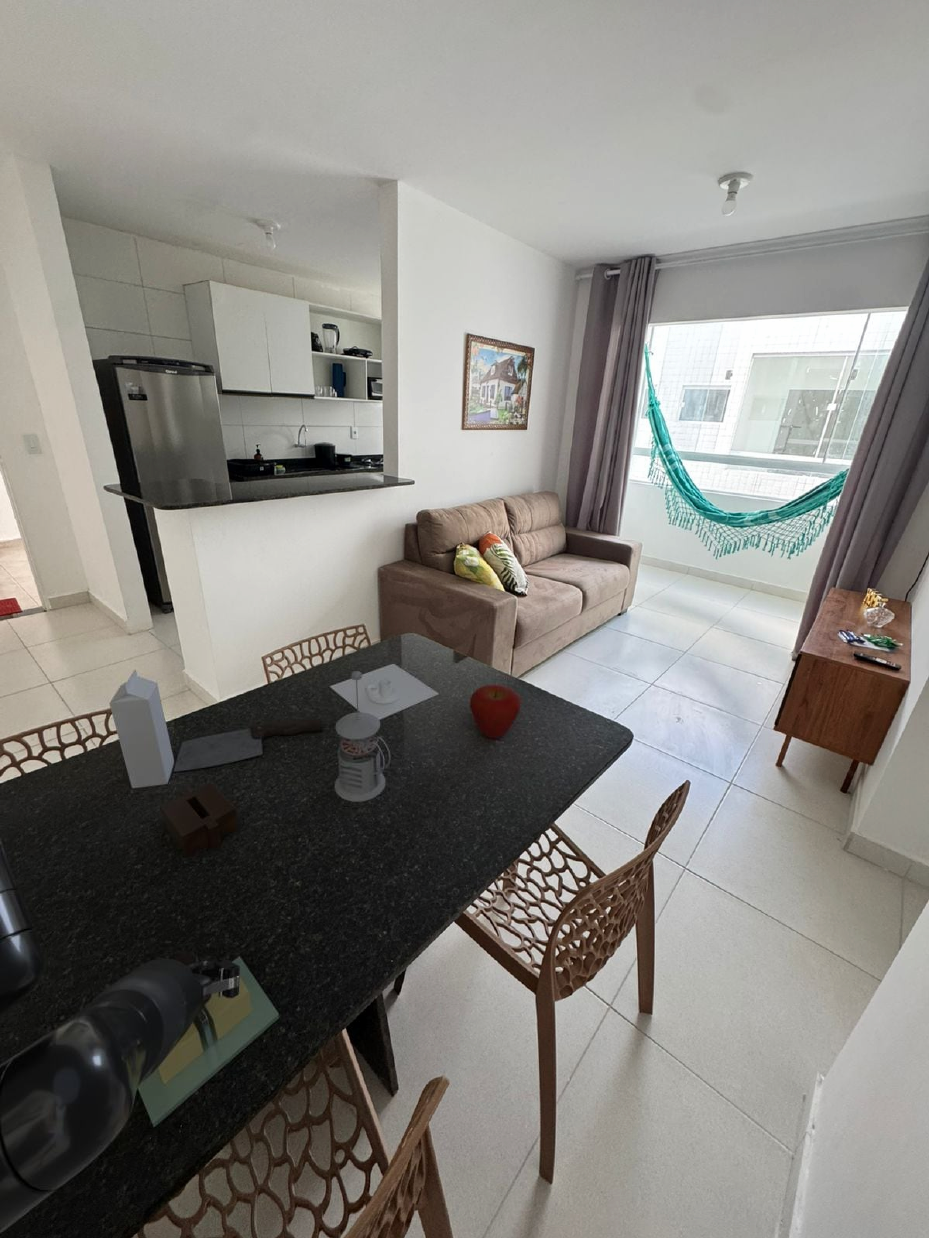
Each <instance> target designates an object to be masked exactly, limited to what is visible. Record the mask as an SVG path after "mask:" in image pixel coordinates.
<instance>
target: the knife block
mask: <svg viewBox="0 0 929 1238" xmlns="http://www.w3.org/2000/svg"><path fill="white" fill-rule="evenodd" d="M179 796H180V797H178V798H175V799H173V800H171V801H169V802H167V803H165V804H163V805H161V806H160V807H159V808H160V812H161V817H162V820H163V824H164V827H165V829H166V831H167V832H168V834H170V836H171V837H172V839H173V840H174V841H175V843H176V844H177V846H178V847H179V849H180V850H181V852H182V853H183V854H184V856H185V857H186V858H188V857H190V856H193V855H194V854H196V853H198V852H200V851H202V850H203V849H205V848H207V847H208V846H210V847H211V849H212V850H214V851H215V850H216V849H217V848H220V847H221V846H222V845H223V843H222V839H223V838H224V837H226V836H228V835H229V834H231V833H233V832H235V831H236V830H238V829H240V827H239V821H238V814H237V810H236V807H235V806H234V805H233V804H232V802H231V801H230V800H229V799H228V798H227V797H226V796H225V794H224V793H223V792H222V791H220V789H219V788H218V787H217V785H216V784H214V783H213V781H211V782H209V783H207V784H205V785H203V786H200V787H198V788H196V789H194V790H192V791H191V790H190V789H189V787H186V788H184V789H182V790H180V791H179Z"/></svg>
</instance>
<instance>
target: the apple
mask: <svg viewBox="0 0 929 1238" xmlns="http://www.w3.org/2000/svg"><path fill="white" fill-rule="evenodd" d="M521 703H522V701H521V698H520V696H519V694H518V693H517V692H515V691H514V690H513V689H511V688H510V687H507V686H504V685H500V684H485V685H482V686H480V687H479V688H478V689H476V690H475V691H474V692H473V693H472V694H471V697H470V701H469V708H470V711H471V713H472V716H473V719H474V721H475V723H476V724H475V725H476V726H477V728H478V732H480V733H481V734H482V735H484V736H485V737H486V738H489V739H498V738H500V737H502V736H505V734H506V733H508V732H509V729H511V727H512V725H513V724H514V722H515V721H516V719H517V717H518V716H519V714H520V711H521Z"/></svg>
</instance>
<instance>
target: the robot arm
mask: <svg viewBox="0 0 929 1238" xmlns="http://www.w3.org/2000/svg"><path fill="white" fill-rule="evenodd" d="M45 970H46V958H45V955H44V949H43V948H42V944H41V942H40V940H39V937H38V934H37V931H36V930H35V925H34V924H33V921H32V919H31V915H30V913H29V911H28V908H27V906H26V903H25V900H24V898H23V895H22V893H21V891H20V888H19V885H18V883H17V880H16V878H15V876H14V873H13V870H12V868H11V865H10V864H9V860H8V857H7V854H6V851H5V848H4V845H3V842H2V838H1V837H0V1020H1V1019H2V1018H3V1017H4V1016H5V1015H6V1014H7V1013H8V1012H9V1011H11V1010H12V1009H13V1008H14V1007H15V1006H16V1005H17V1004H19V1002H20V1001H22V1000H23V999H24V998H25V997H26V996H28V994H29V993H30V992H31V991H32V990H33V989H34V988H35V987H36V986H37V985H38V984H39V982H40V981H41V980H42V977H43V976H44V974H45ZM239 974H240V966H239V965H237V964H234V963H232V961H230V960H229V959H225V958H219V959H218V958H214V955H206V956H205V957H204V958H202V959H201V960H200V961H198V963H193V964H189V965H188V966H186V965H185V964H183V963H182V962H179V961H177V959H174V958H157V959H152V960H149V961H147V962H144V963H143V964H140V965H138V966H137V967H135V968H134V969H133V970H131V971H130V972H128V973H127V974H126V975H124V976H122V977H121V978H119V979H118V980H117V981H115V982H113V983H112V984H110V985H109V986H108V987H106V988H102V989H101V988H100V989H99V990H98V991H95V992H94V994H93V995H94V996H93V999H92V1000H91V1001H90V1002H89V1003H88V1004H87V1005H85V1006H84V1007H82V1008H81V1009H80V1010H78V1011H77V1012H75V1013H74V1014H73V1015H71V1016H70V1017H68V1018H67V1019H66V1020H65V1021H64V1022H62V1024H60V1025H58V1026H56V1027H55V1028H54V1029H52V1030H51V1031H49V1032H48V1033H45V1034H44V1035H43V1036H41V1037H40V1038H38V1039H37V1040H35V1041H34V1042H33V1043H31V1044H29V1045H27V1046H26V1047H25V1048H24V1049H22V1050H21V1051H19V1052H18V1053H16V1054H15V1055H13V1056H11V1057H10V1058H9V1059H7V1060H5V1062H4V1061H3V1063H1V1064H0V1235H1V1234H2V1233H3V1232H4V1231H6V1230H7V1229H8V1228H10V1227H11V1226H12V1225H14V1224H15V1223H16V1222H17V1221H19V1220H20V1219H21V1218H23V1217H24V1216H25V1215H27V1214H28V1213H29V1212H30V1211H32V1210H33V1209H34V1208H35V1207H36V1206H38V1205H39V1204H41V1203H42V1202H43V1201H44V1200H46V1199H47V1198H49V1196H51V1195H52V1194H53V1193H55V1192H56V1191H57V1190H58V1189H60V1188H61V1187H63V1186H64V1185H65V1184H66V1183H68V1182H69V1181H70V1180H72V1179H73V1178H74V1177H75V1176H77V1175H78V1174H79V1173H80V1172H82V1171H83V1170H84V1169H86V1168H87V1167H88V1166H89V1165H90V1164H91V1163H92V1162H93V1161H94V1160H95V1159H97V1158H98V1157H99V1156H100V1155H101V1154H102V1153H103V1152H104V1151H105V1150H106V1149H107V1148H108V1147H109V1146H110V1145H111V1144H112V1143H113V1141H114V1140H115V1139H117V1137H118V1136H119V1135H120V1133H121V1132H122V1131H123V1130H124V1128H125V1127H126V1126H127V1123H128V1122H129V1120H130V1118H131V1116H132V1113H133V1109H134V1104H135V1099H136V1095H137V1091H138V1086H139V1085H140V1084H141V1083H142V1082H143V1081H144V1080H146V1079H147V1078H148V1077H149V1076H150V1075H151V1074H152V1073H153V1072H154V1071H155V1070H156V1069H157V1068H158V1067H159V1066H160V1065H161V1063H162V1062H163V1061H164V1060H165V1058H166V1057H167V1056H168V1055H169V1053H170V1052H171V1051H172V1050H173V1048H174V1047H175V1046H176V1045H177V1043H178V1042H179V1041H180V1040H181V1038H182V1037H183V1036H184V1035H185V1033H186V1032H187V1031H188V1029H189V1027H190V1026H191V1024H192V1022H193V1020H194V1018H195V1016H196V1013H197V1011H198V1008H199V1007H200V1006H202V1005H204V1004H206V1003H207V1002H208V1001H209V1000H210V998H211V995H212V994H214V993H217V992H218V997H222V996H224V997H226V998H234V997H235V996H237V995H239Z"/></svg>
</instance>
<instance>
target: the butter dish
mask: <svg viewBox="0 0 929 1238" xmlns="http://www.w3.org/2000/svg"><path fill="white" fill-rule="evenodd" d="M231 962H232V963H234V964H237V965H239V966H240V974H239V995H237V996H235V997H234V998H226V997H224V996H222V997H218V992H217V993H214V994H212V995H211V998H210V1000H209V1001H208V1002H207V1003H206V1004H205V1006H204V1007H203V1011H204V1013H205V1015H206V1016H207V1018H208V1022H209V1026H210V1030H211V1034H212V1038H213V1042H214V1045H213V1046H211V1047H210V1048H208V1046H207V1044H206V1042H205V1040H204V1039H203V1037H202V1035H201V1033H200V1031H199V1029H198V1028H197V1026H196V1024H195V1022H194V1020H193V1022H192V1024H191V1026H190V1027H189V1029H188V1031H187V1032H186V1033H185V1035H184V1036H183V1037H182V1038H181V1040H180V1041H179V1042H178V1043H177V1045H176V1046H175V1047H174V1048H173V1050H172V1051H171V1052H170V1053H169V1055H168V1056H167V1057H166V1058H165V1060H164V1061H163V1062H162V1063H161V1065H160V1066H159V1067H158V1068H157V1069H156V1070H155V1071H154V1072H153V1073H152V1074H151V1075H150V1076H149V1077H148V1078H147V1079H146V1080H144V1081H143V1082H142V1083H141V1084H140V1085H139V1086H138V1088H137V1091H138V1093H139V1095H140V1098H141V1100H142V1102H143V1105H144V1107H145V1110H146V1112H147V1115H148V1117H149V1119H150V1122H151V1124H152V1127H153V1128H155V1127H157V1126H158V1125H159V1124H160V1123H161V1122H163V1121H164V1120H165V1119H166V1118H167V1117H169V1115H171V1113H173V1112H174V1111H175V1110H176V1109H177V1108H178V1107H180V1106H181V1105H182V1104H183V1103H184V1102H185V1101H186V1100H188V1099H189V1098H190V1097H192V1095H193V1094H195V1093H196V1091H198V1090H199V1089H201V1087H202V1086H203V1085H204V1084H206V1083H207V1082H208V1081H209V1080H210V1079H212V1077H214V1076H215V1075H217V1073H218V1072H220V1071H221V1069H223V1068H224V1067H225V1066H227V1065H228V1063H230V1062H231V1061H232V1060H233V1059H234V1058H235V1057H237V1056H238V1055H239V1054H240V1053H241V1052H242V1051H244V1049H245V1048H247V1047H248V1046H249V1045H250V1044H251V1043H253V1042H254V1041H255V1040H256V1039H257V1038H258V1037H260V1035H262V1034H263V1033H264V1032H265V1031H266V1030H267V1029H268V1028H270V1027H271V1026H272V1025H273V1024H274V1023H276V1022H277V1020H279V1019H280V1014H279V1012H278V1010H277V1009H276V1008H275V1006H274V1004H273V1003H272V1001H271V999H270V998H269V997H268V996H267V994H266V993H265V991H264V990H263V988H262V987H261V985H260V984H259V983H258V981H257V979H256V977H254V975H253V974H252V972H251V970H250V969H249V967H248V966H247V964H245V962H244V961H243V959H242V957H241V956H238V957H236V958H235V959H234V960H233V961H231Z"/></svg>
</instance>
